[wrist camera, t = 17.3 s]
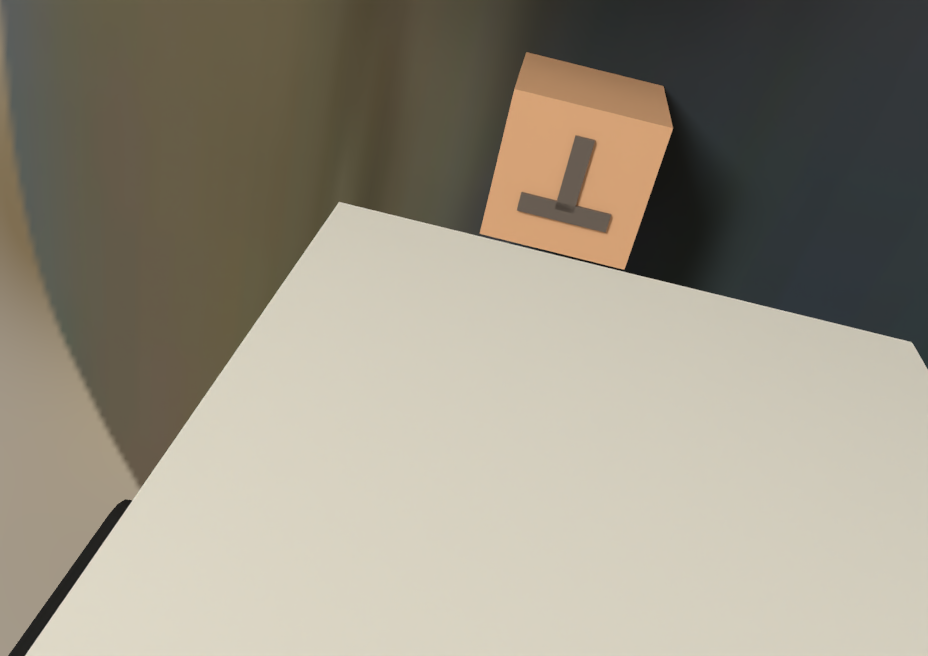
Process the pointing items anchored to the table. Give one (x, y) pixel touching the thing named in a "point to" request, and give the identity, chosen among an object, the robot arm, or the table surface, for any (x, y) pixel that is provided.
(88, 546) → the robot arm
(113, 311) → the table surface
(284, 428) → the large plain cream block
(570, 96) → the letter cube
